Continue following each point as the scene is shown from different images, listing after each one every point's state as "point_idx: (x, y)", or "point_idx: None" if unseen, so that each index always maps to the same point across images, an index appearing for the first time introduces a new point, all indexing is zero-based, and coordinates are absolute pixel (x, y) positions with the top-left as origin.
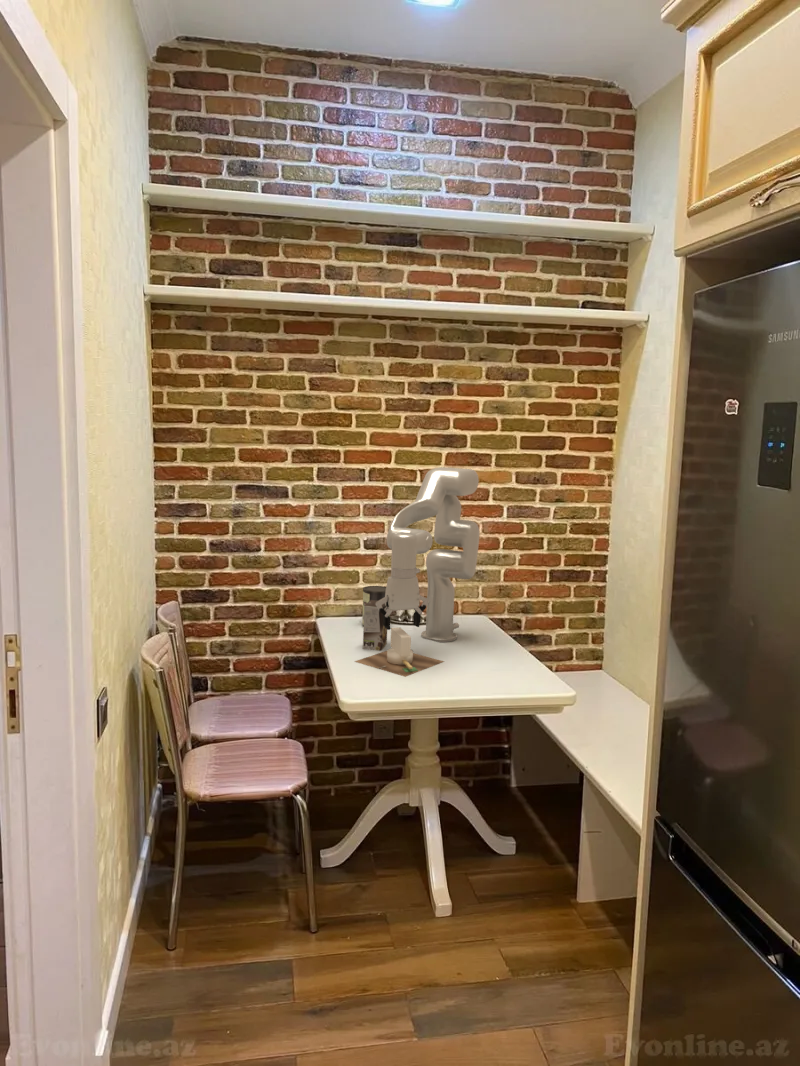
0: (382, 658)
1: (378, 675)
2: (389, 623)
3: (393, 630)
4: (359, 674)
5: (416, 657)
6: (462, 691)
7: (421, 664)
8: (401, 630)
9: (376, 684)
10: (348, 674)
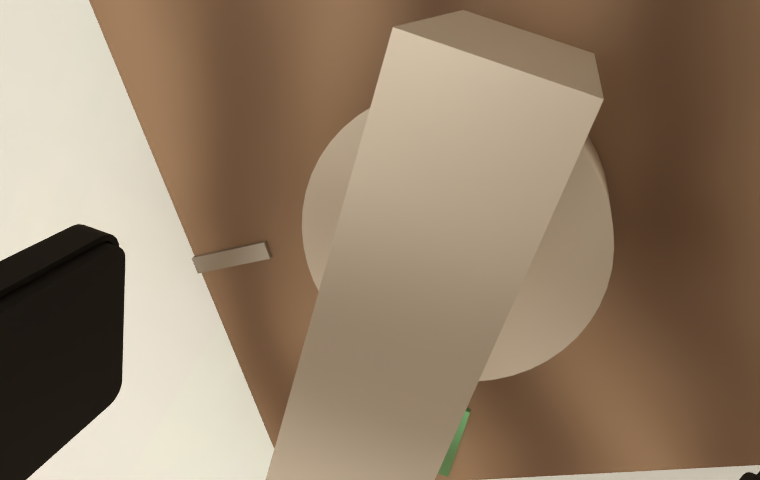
0: (365, 30)
1: (201, 274)
2: (15, 473)
3: (349, 189)
4: (87, 181)
5: (729, 196)
6: None
7: (594, 385)
8: (467, 296)
9: (123, 391)
10: (18, 138)
